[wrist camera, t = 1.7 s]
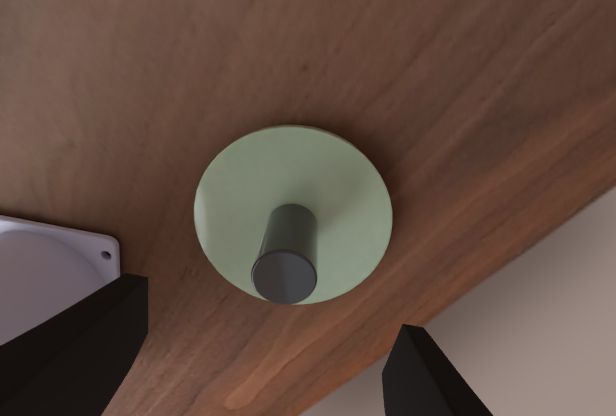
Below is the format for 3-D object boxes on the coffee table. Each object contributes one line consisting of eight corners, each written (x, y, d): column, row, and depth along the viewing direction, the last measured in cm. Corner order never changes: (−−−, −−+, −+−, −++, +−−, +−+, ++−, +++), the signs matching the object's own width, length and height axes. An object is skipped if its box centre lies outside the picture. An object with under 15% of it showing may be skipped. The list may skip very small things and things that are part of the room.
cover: (360, 304, 19) (372, 386, 14) (195, 273, 18) (152, 348, 14) (415, 145, 15) (456, 187, 11) (208, 101, 15) (156, 125, 10)
